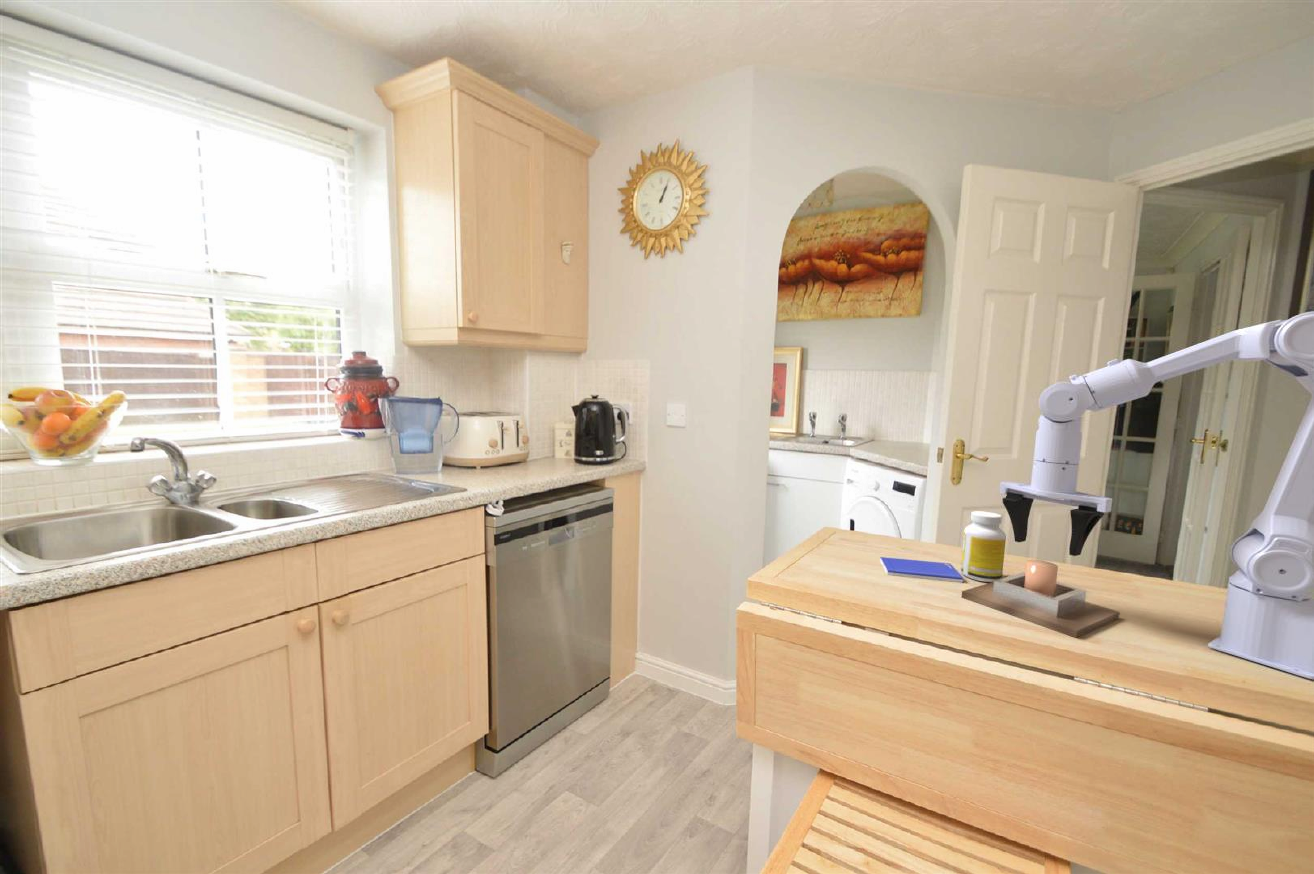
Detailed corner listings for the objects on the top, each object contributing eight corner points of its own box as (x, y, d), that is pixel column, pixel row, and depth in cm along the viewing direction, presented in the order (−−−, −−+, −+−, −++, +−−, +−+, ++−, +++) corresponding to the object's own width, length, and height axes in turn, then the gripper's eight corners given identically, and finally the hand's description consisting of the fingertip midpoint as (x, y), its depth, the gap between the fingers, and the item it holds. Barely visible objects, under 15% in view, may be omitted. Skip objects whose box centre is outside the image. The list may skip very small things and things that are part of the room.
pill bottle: (1007, 585, 96) (1014, 519, 95) (967, 581, 98) (973, 516, 96) (993, 572, 103) (999, 511, 101) (955, 569, 104) (960, 508, 103)
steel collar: (1084, 606, 85) (1086, 590, 85) (1056, 617, 81) (1058, 601, 80) (1021, 586, 93) (1023, 572, 93) (992, 596, 88) (994, 580, 88)
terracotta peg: (1058, 603, 86) (1062, 565, 85) (1046, 608, 84) (1050, 569, 83) (1030, 594, 89) (1034, 558, 89) (1017, 598, 87) (1021, 561, 87)
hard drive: (949, 562, 105) (880, 555, 107) (963, 576, 97) (887, 569, 99) (949, 570, 105) (879, 563, 107) (962, 585, 97) (887, 577, 100)
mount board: (1118, 618, 84) (1119, 611, 84) (1075, 637, 76) (1076, 630, 76) (1006, 583, 97) (1007, 577, 97) (961, 597, 90) (962, 591, 90)
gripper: (1124, 467, 81) (1113, 557, 83) (1018, 454, 93) (1010, 533, 95) (1104, 469, 77) (1093, 564, 79) (996, 456, 90) (988, 537, 91)
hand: (1046, 547), depth 87 cm, fingers open, 7 cm apart
